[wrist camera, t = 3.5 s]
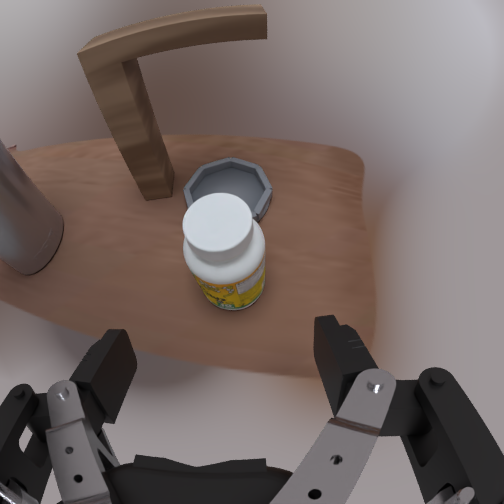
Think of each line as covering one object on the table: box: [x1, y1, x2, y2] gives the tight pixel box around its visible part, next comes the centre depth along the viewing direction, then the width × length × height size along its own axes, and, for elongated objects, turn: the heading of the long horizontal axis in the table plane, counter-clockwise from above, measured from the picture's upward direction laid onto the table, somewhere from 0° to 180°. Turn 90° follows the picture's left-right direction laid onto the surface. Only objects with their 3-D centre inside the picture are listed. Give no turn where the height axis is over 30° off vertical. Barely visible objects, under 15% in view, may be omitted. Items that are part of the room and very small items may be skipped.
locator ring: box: [183, 157, 272, 222], centre depth 28 cm, size 8×8×2 cm
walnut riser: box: [77, 5, 267, 200], centre depth 21 cm, size 4×13×18 cm, turn 95°
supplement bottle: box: [183, 193, 265, 310], centre depth 20 cm, size 5×5×10 cm
